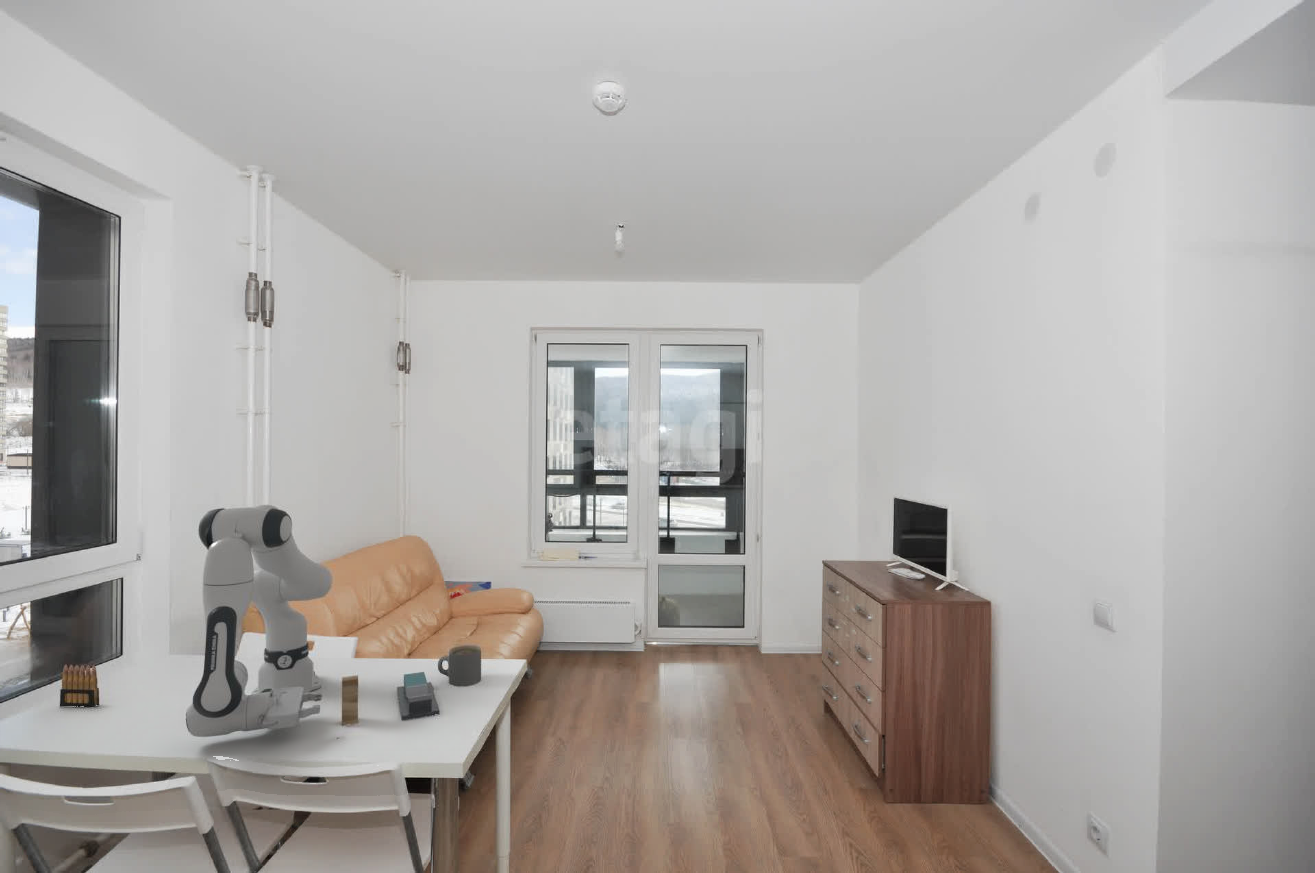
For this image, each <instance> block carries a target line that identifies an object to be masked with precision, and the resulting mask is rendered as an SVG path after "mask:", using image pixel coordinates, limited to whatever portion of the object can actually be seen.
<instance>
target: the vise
mask: <svg viewBox="0 0 1315 873" xmlns="http://www.w3.org/2000/svg"><path fill="white" fill-rule="evenodd" d="M427 684H428V695H421V696H415V697H408V698H406V693H405V688H404V685H402V686H396V693H397V694H396V695H397V700H399V701H398V705H399V712H400V718H401V721H408V720H414V719H413V718H415V719H420V718H426V717H425V716H427V717H433V716H436V715H435V714H439V715H440V713H441V711H440V706H439V704H438V701H437V698H436V694H435V691H434V688H433V684H432V682H430V681H429V682H428V681H427ZM432 715H433V716H432Z"/></svg>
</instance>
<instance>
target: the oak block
mask: <svg viewBox="0 0 1315 873" xmlns="http://www.w3.org/2000/svg"><path fill="white" fill-rule="evenodd" d="M355 723H356V724H359V675H349V676H342V677H341V726H349V725H348V724H350V725H355Z"/></svg>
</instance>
